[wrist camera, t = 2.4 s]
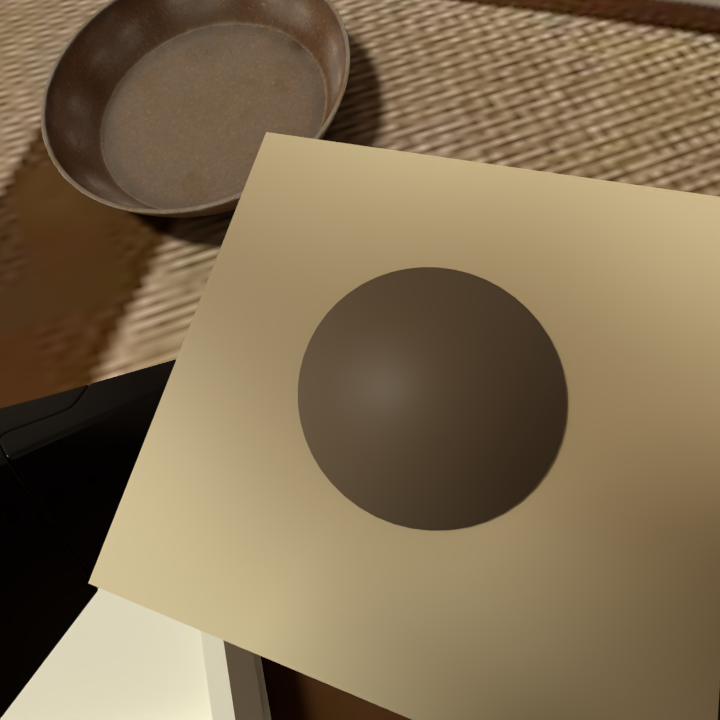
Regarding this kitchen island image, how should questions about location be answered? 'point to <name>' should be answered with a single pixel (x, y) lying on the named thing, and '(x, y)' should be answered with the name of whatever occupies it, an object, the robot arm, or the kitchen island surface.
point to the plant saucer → (189, 97)
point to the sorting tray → (141, 671)
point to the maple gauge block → (446, 440)
